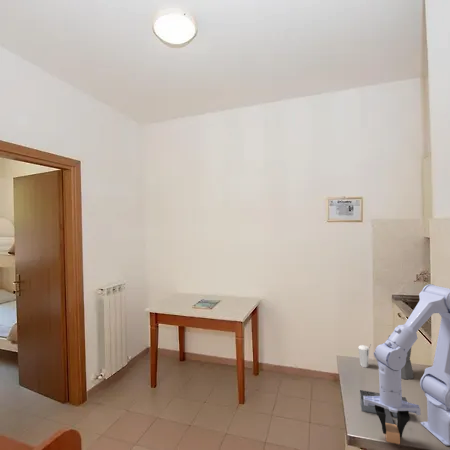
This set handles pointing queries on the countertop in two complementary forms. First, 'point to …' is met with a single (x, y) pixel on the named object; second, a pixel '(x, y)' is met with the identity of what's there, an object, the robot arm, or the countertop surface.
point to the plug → (391, 429)
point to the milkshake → (364, 355)
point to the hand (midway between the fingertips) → (391, 433)
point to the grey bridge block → (370, 407)
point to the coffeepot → (407, 367)
